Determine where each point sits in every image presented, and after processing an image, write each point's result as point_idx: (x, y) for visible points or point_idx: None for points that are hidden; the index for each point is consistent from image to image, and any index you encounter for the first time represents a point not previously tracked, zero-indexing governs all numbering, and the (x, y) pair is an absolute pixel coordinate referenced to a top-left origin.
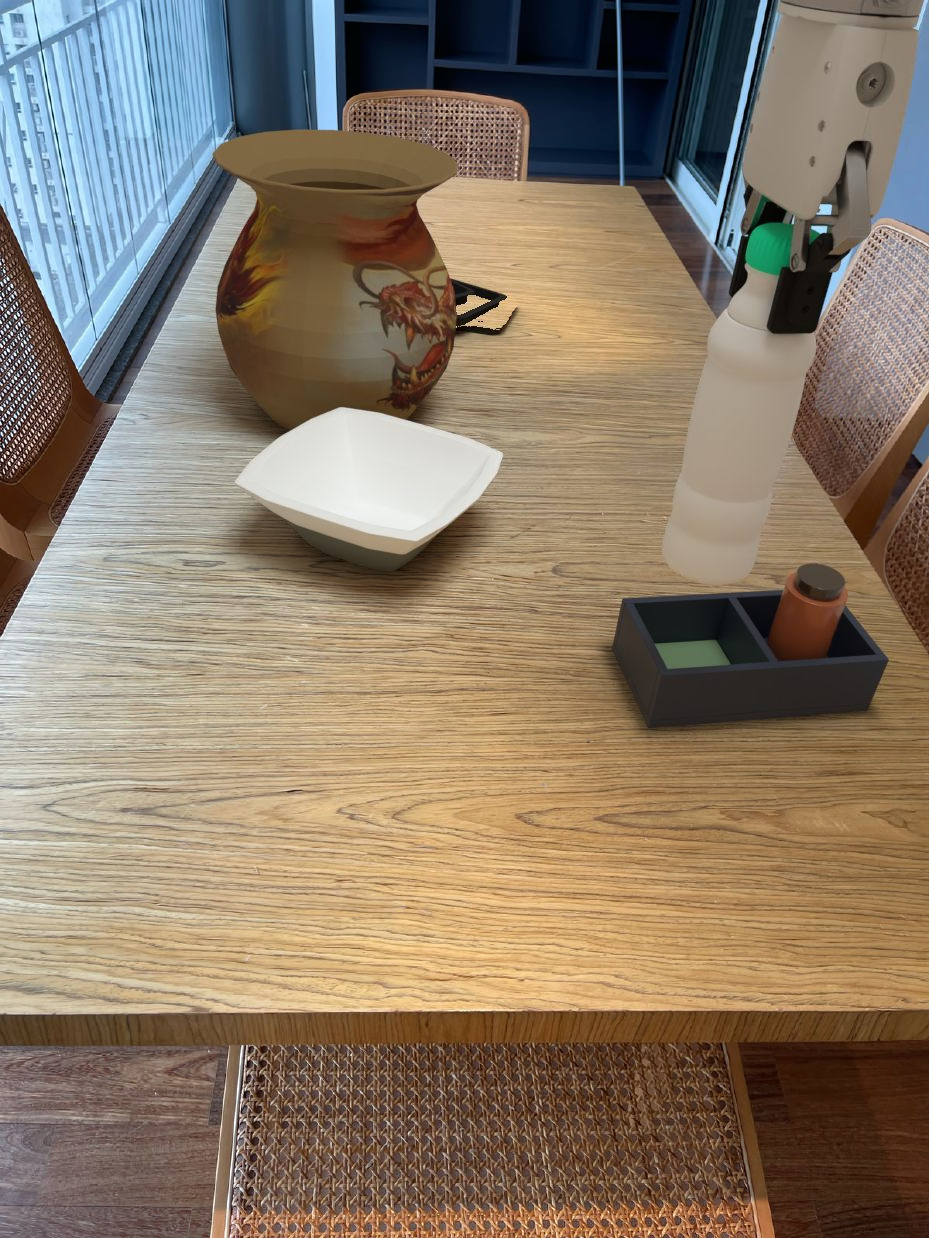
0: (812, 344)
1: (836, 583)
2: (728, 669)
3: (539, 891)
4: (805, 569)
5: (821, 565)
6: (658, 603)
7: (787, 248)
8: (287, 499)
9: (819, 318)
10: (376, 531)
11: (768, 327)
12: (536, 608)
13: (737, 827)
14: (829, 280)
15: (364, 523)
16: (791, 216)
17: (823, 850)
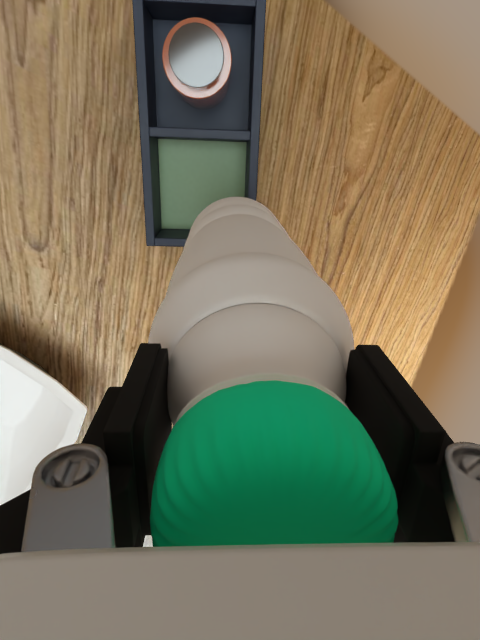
0: (332, 304)
1: (211, 42)
2: (254, 186)
3: (361, 342)
4: (181, 69)
5: (173, 41)
6: (153, 212)
7: None
8: (30, 486)
9: (387, 357)
10: (75, 434)
11: None
12: (97, 279)
13: (350, 208)
14: (428, 413)
15: (63, 441)
16: (109, 507)
17: (385, 154)
